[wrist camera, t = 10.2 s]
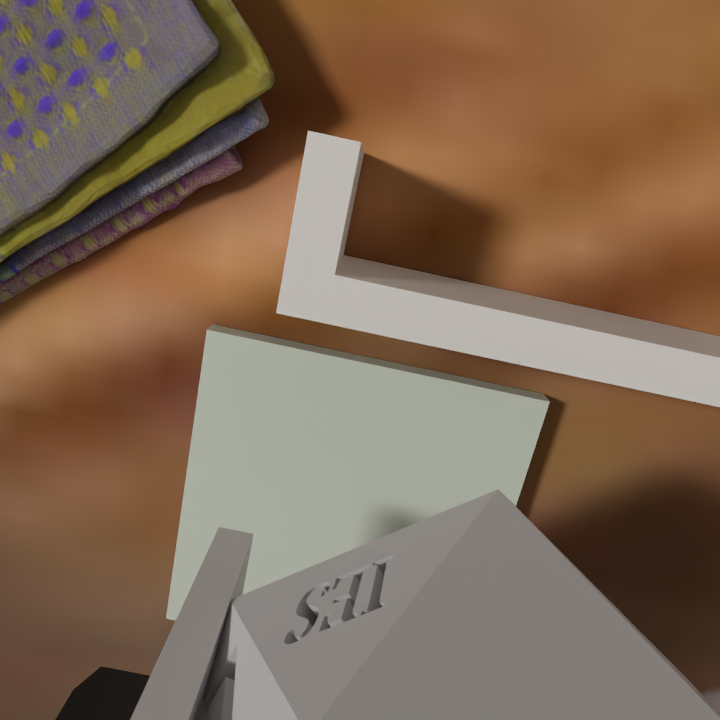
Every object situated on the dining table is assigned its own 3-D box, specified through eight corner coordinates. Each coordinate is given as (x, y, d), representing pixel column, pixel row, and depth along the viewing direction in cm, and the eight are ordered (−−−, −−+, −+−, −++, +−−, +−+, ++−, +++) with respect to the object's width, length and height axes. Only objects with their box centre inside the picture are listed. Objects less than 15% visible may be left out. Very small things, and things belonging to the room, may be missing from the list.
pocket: (416, -363, 12) (433, -587, 8) (1038, -203, 12) (1296, -353, 9) (297, 284, 15) (276, 313, 12) (778, 387, 16) (888, 442, 12)
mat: (213, 324, 16) (207, 329, 15) (543, 394, 16) (549, 402, 15) (172, 604, 18) (166, 618, 18) (458, 659, 18) (461, 675, 18)
